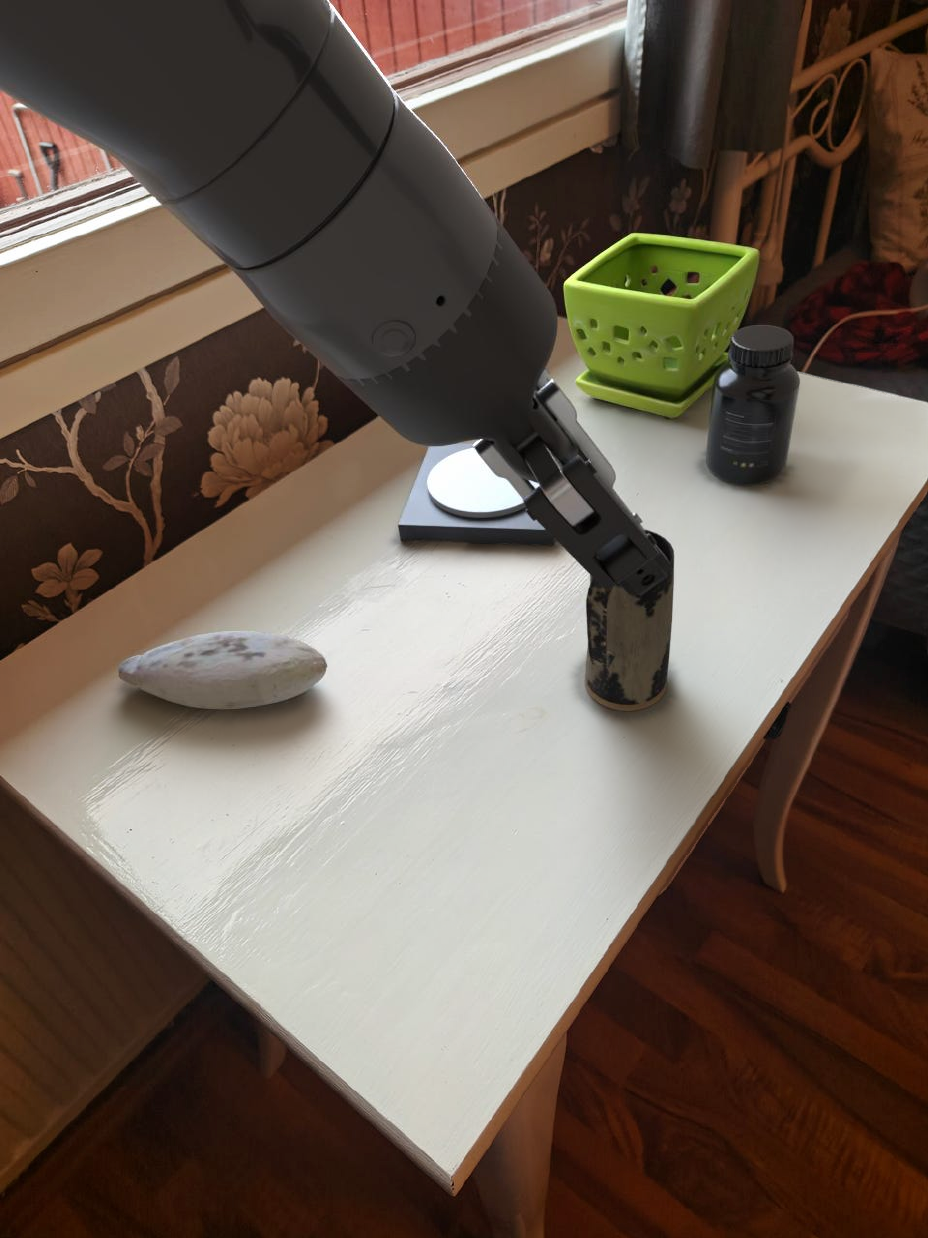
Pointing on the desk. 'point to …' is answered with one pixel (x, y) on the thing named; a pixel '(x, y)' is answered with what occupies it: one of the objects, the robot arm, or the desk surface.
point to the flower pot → (657, 319)
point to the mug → (629, 641)
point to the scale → (466, 503)
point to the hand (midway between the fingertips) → (609, 517)
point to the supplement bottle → (753, 407)
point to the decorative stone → (226, 670)
